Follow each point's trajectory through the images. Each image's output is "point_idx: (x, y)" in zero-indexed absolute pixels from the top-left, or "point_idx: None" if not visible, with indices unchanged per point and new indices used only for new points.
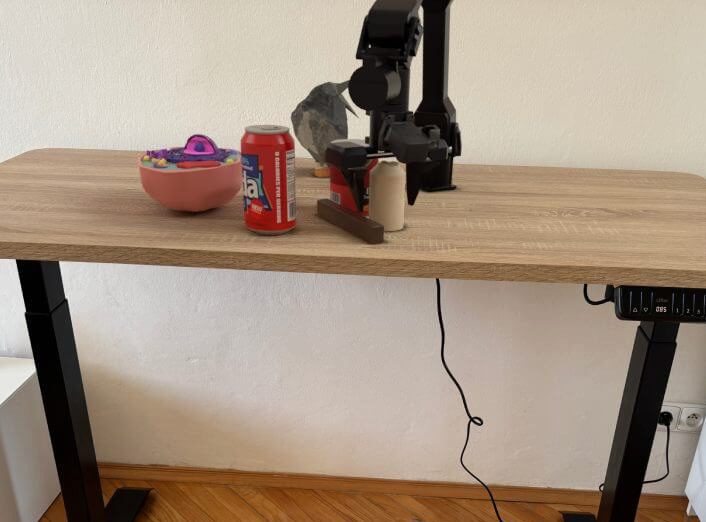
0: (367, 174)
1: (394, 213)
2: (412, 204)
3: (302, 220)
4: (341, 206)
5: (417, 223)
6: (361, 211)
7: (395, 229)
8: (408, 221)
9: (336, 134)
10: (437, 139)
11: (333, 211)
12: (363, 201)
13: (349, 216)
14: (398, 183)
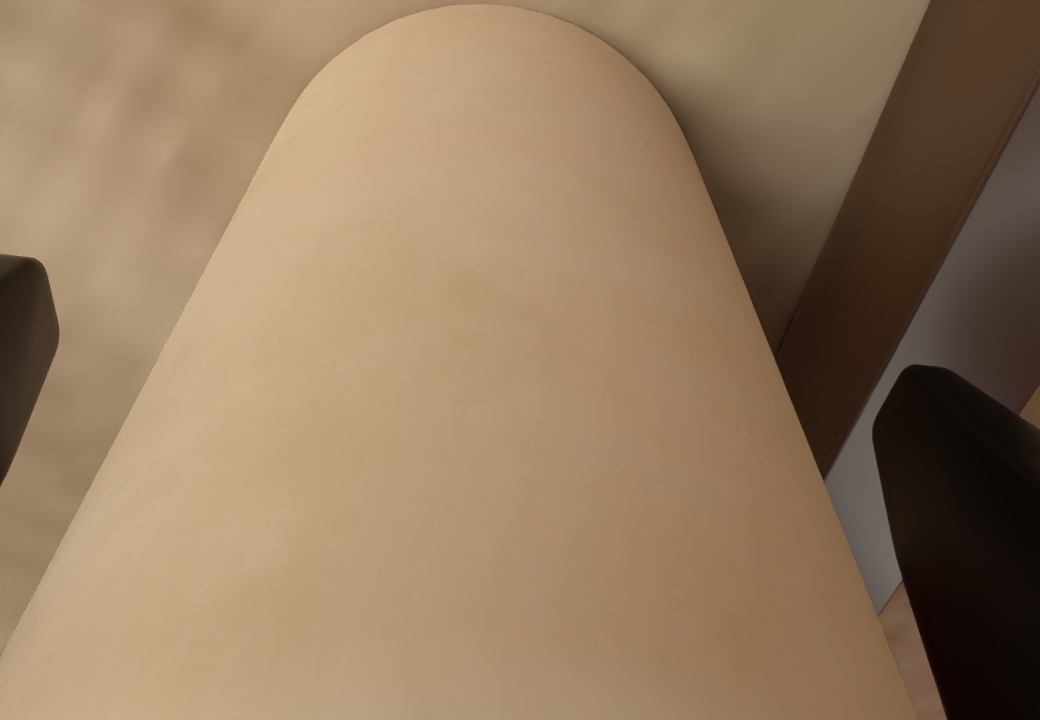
0: None
1: (549, 91)
2: (13, 260)
3: (912, 653)
4: None
5: (23, 132)
6: (939, 368)
7: (510, 6)
8: (100, 251)
9: None
10: None
11: None
12: (1010, 451)
13: (1036, 382)
14: (460, 460)
